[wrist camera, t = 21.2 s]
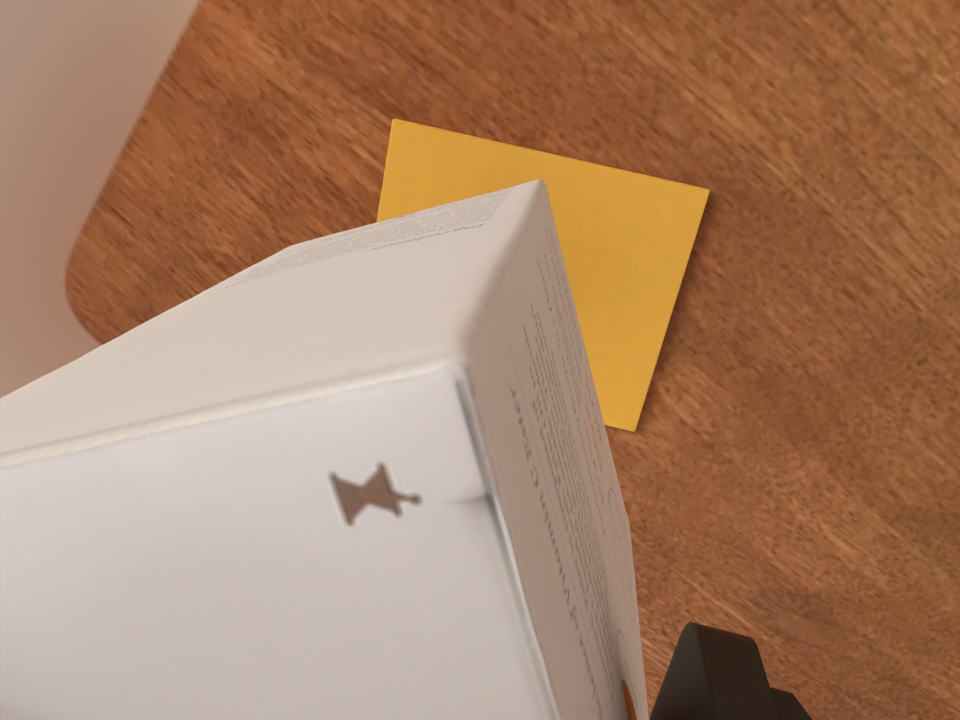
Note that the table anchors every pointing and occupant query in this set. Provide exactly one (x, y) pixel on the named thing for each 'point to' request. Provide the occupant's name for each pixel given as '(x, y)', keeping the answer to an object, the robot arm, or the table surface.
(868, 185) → the table surface
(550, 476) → the small box
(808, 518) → the table surface
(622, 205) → the ochre mat
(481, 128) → the table surface
